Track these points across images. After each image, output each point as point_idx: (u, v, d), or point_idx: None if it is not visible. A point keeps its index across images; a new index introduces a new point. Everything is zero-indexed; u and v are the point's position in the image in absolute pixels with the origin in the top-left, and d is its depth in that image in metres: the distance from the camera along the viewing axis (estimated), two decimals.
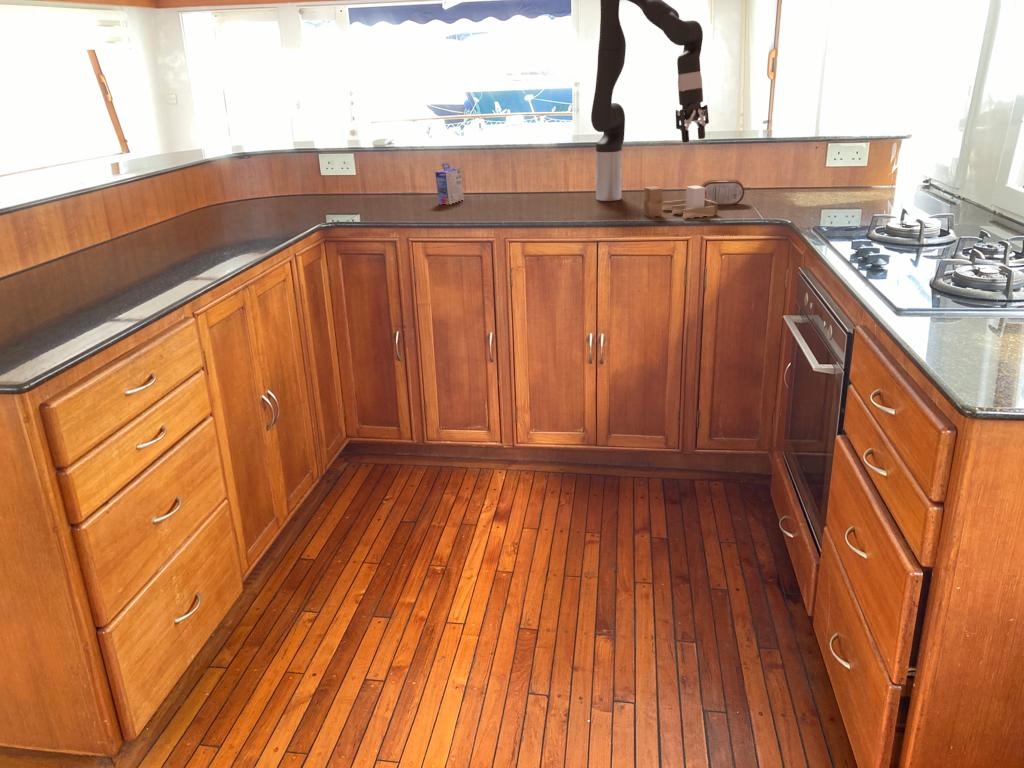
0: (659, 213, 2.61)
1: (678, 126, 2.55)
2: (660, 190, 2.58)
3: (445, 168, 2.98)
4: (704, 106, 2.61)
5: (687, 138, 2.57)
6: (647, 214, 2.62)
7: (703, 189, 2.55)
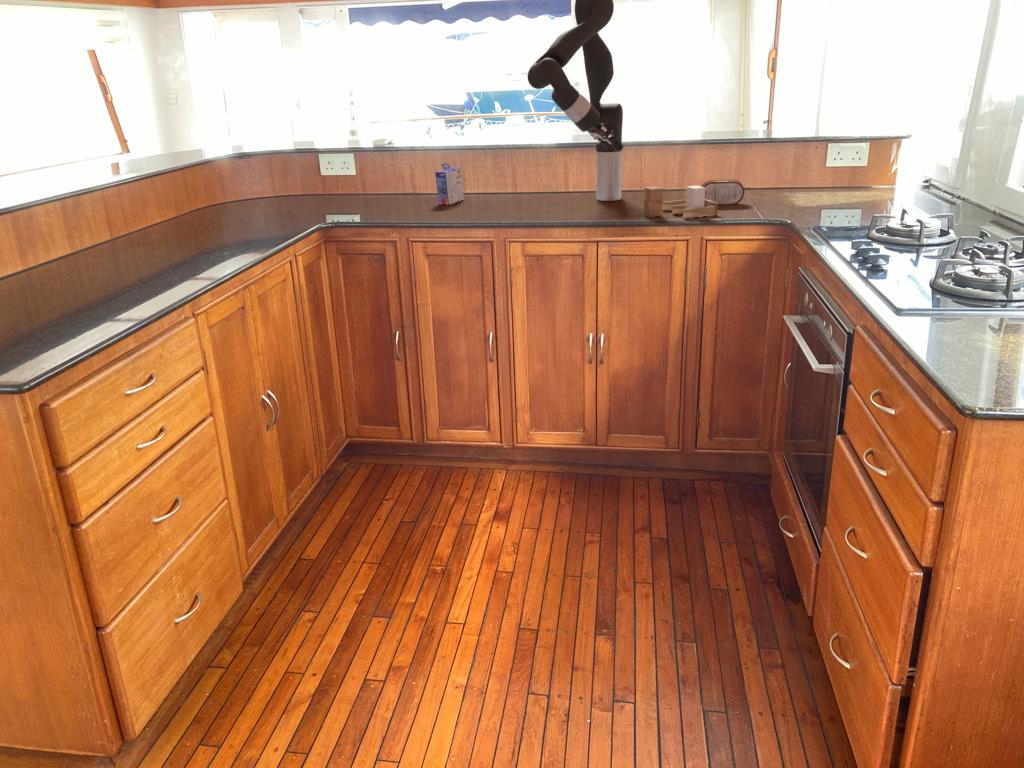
0: (659, 213, 2.61)
1: None
2: (660, 190, 2.58)
3: (445, 168, 2.98)
4: None
5: None
6: (647, 214, 2.62)
7: (703, 189, 2.55)
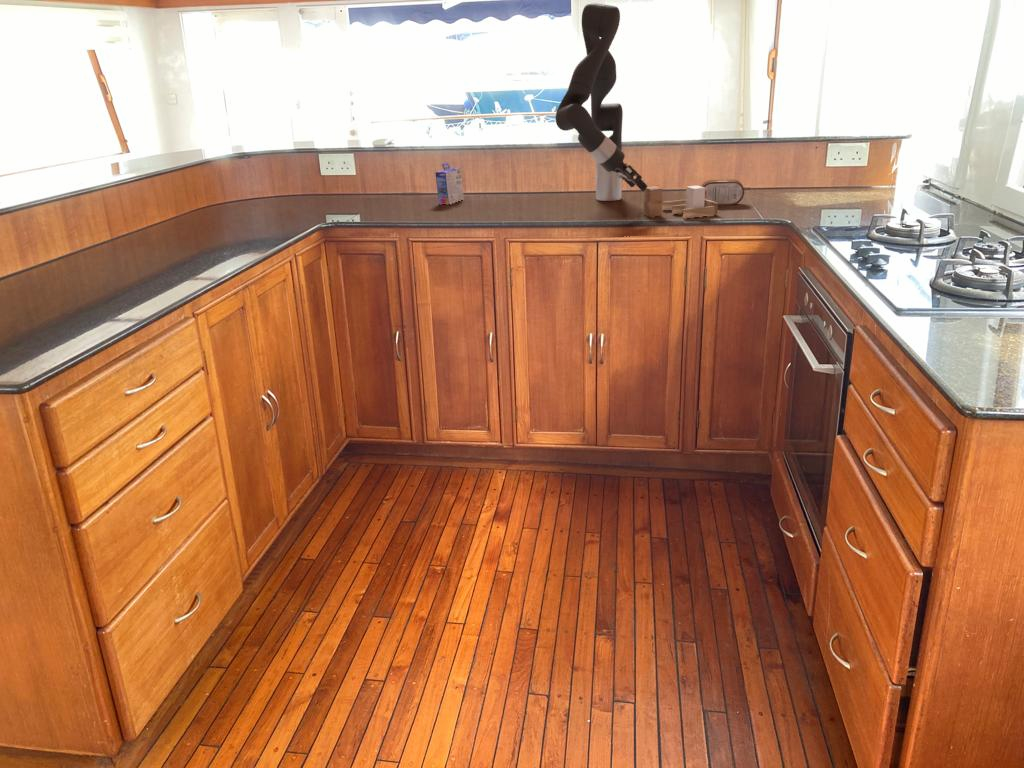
0: (659, 213, 2.61)
1: None
2: (660, 190, 2.58)
3: (445, 168, 2.98)
4: None
5: None
6: (647, 214, 2.62)
7: (703, 189, 2.55)
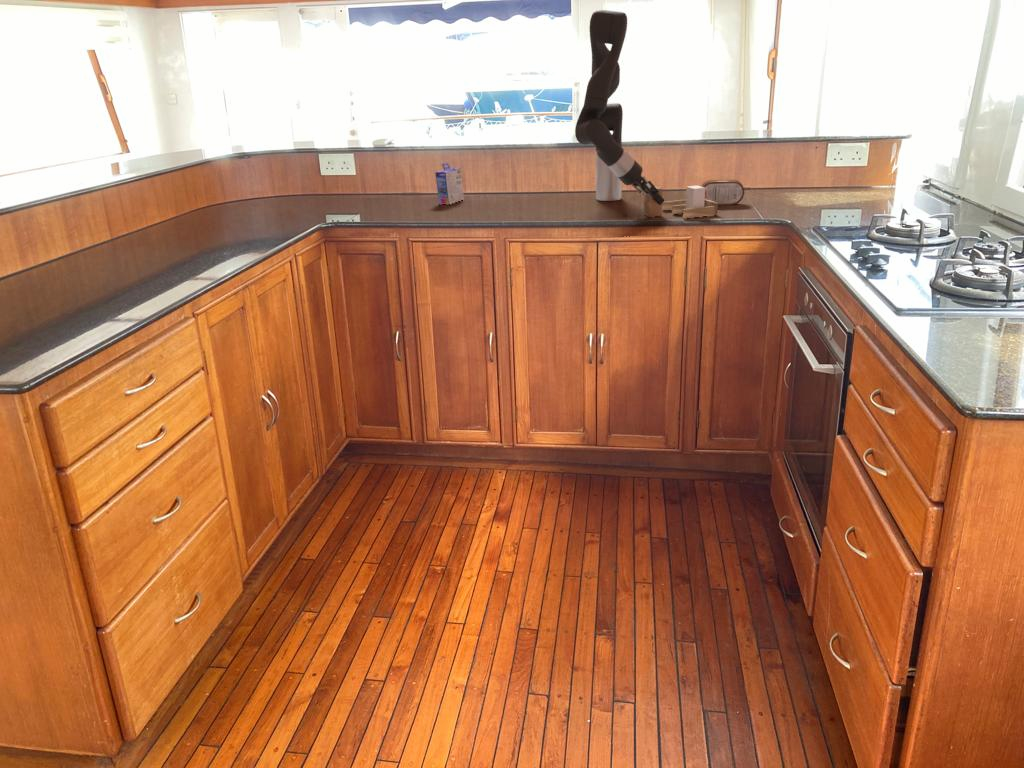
0: (659, 213, 2.61)
1: None
2: (660, 190, 2.58)
3: (445, 168, 2.98)
4: None
5: None
6: (647, 214, 2.62)
7: (703, 189, 2.55)
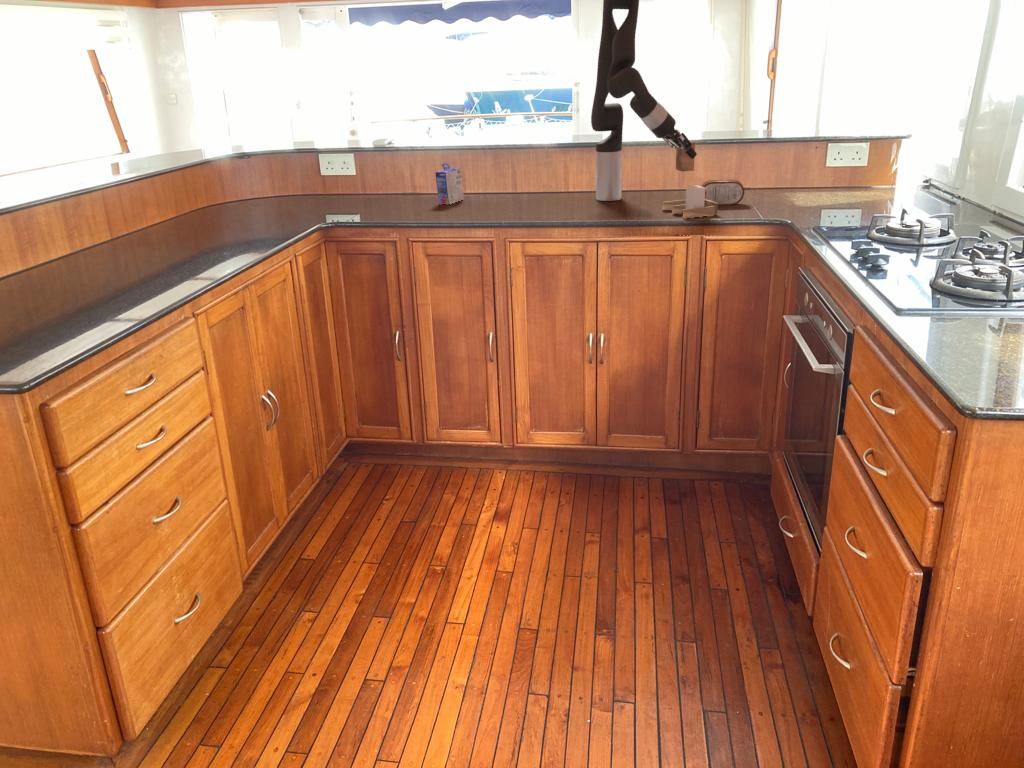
0: (691, 167, 2.59)
1: None
2: (693, 143, 2.57)
3: (445, 168, 2.98)
4: None
5: None
6: (679, 168, 2.61)
7: (703, 189, 2.55)
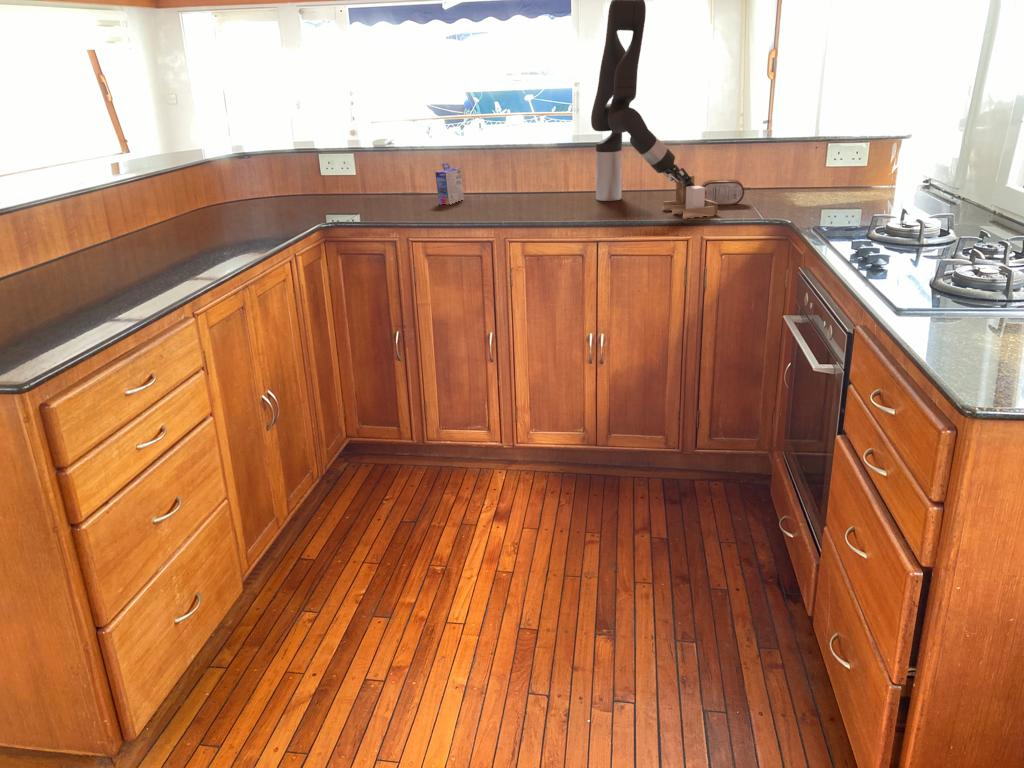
0: None
1: None
2: (692, 177, 2.61)
3: (445, 168, 2.98)
4: None
5: None
6: (679, 201, 2.65)
7: (703, 189, 2.55)
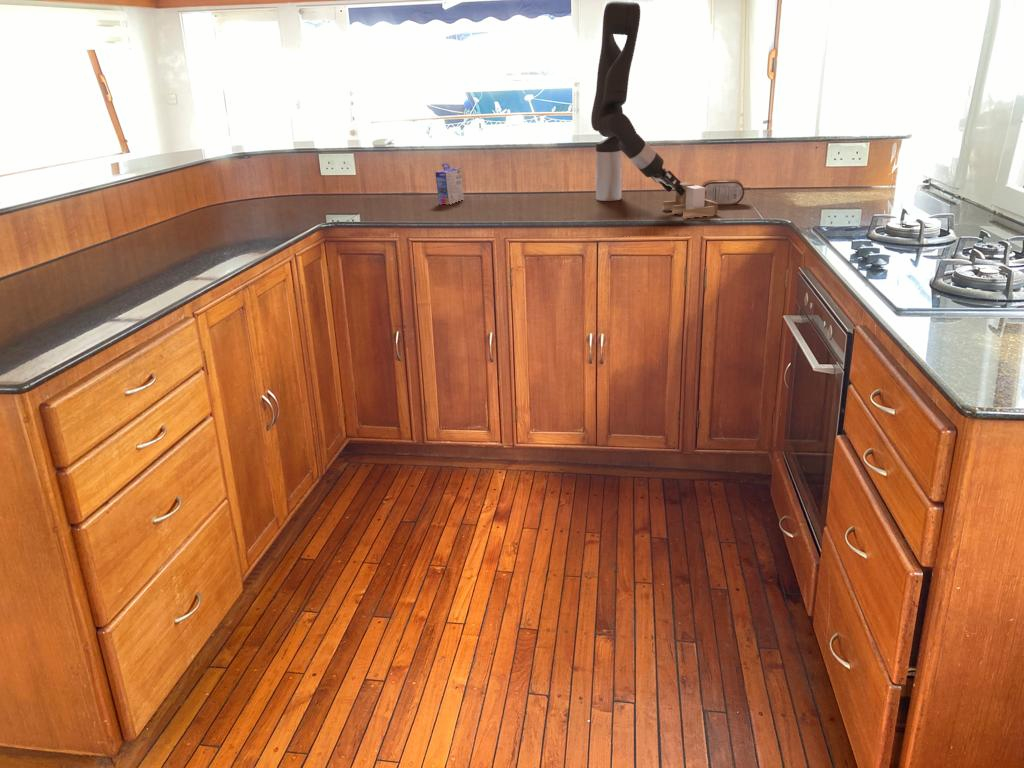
0: None
1: None
2: None
3: (445, 168, 2.98)
4: None
5: None
6: None
7: (703, 189, 2.55)
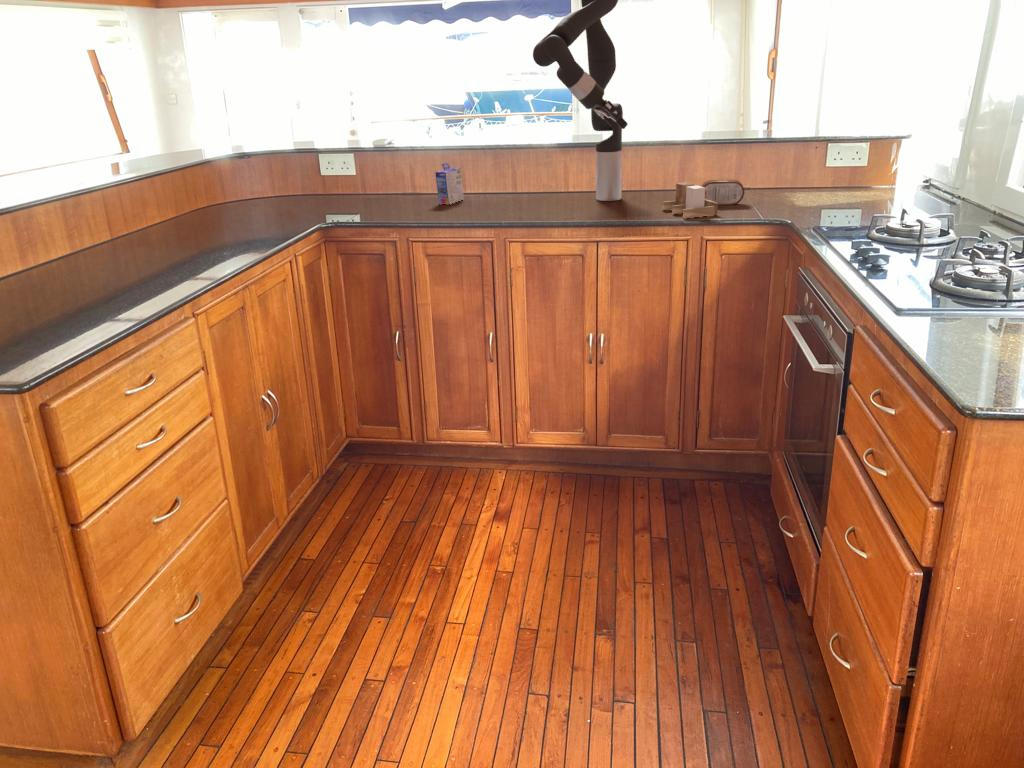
0: None
1: None
2: None
3: (445, 168, 2.98)
4: None
5: None
6: None
7: (703, 189, 2.55)
